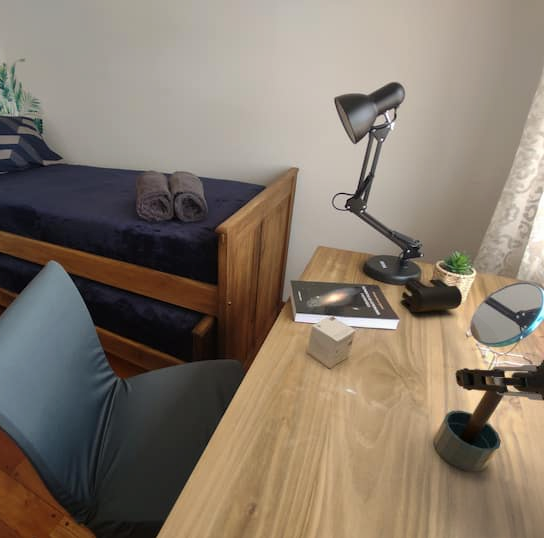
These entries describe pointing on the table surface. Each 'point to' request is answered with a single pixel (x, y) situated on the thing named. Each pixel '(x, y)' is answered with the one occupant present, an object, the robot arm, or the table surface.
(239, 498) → the table surface
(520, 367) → the robot arm
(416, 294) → the end cap
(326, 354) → the beige stone block
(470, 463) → the green round cup
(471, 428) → the stick
